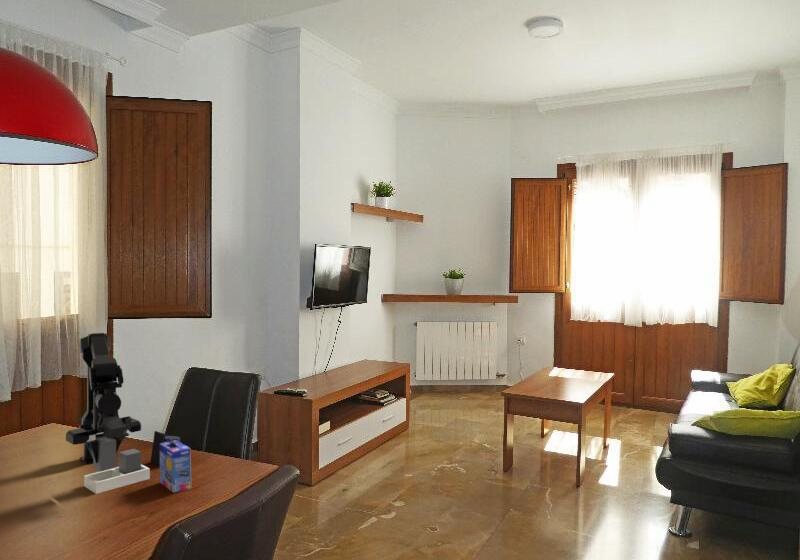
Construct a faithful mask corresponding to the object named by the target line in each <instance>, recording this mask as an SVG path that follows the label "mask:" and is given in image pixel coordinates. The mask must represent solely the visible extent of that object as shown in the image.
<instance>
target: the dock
mask: <svg viewBox="0 0 800 560" xmlns="http://www.w3.org/2000/svg"><path fill="white" fill-rule="evenodd" d="M150 470H151V468H149V467H148V466H146V465H144V464H142V463H141V470H139V471H135V472H131V473H128V474H122V473H121V472H119V466H116V468H113V469H109V470H105V471H101V472H100V471H96V472H93V473H88V474H86V475H83V486H84V487H85V488H87V489H88V490H89V491H91V492H92V493H94V494H96V495H97V494H101V493H104V492H107V491H111V490H114V489H118V488H122V487H127V486H129V485H133V484H136V483H140V482H144V481H147V480H150V479H151V471H150Z"/></svg>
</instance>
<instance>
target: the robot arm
mask: <svg viewBox="0 0 800 560" xmlns="http://www.w3.org/2000/svg"><path fill="white" fill-rule="evenodd" d="M78 345H79V346H78V348H79V354H81V358H82V360H83V361H84V362H85V364H86V377H87V378H86V385H87V386H86V389H87V390H86V394H87V395H86V396H87V397H86V400H87V401H86V403H87V405H86V407H87V408H86V411H85V412H84V414H83V415H82V417H81V424H79V427H78V428H74V429H68V431H67V432H66V434H65V442H68V443H70V444H71V445H75V446H76V445H82V444H83V456H80V457H79V460H80V461H82V462H84V463H85V464H91V463H93V460H94V462H95V463H98V451H97V444H98V442H99V441H98V440H96V439H100V438H105V437H106V438H108V439H112V438H113V439H115V440H116V455H117V453H118V451H119V448H120V446H121V443H122V442H123V440H125V438H126V437H128V436H130V433H135V432H141V431H142V423H141V421H140V420H138V419H135V418H133V417H131V415H130V416H123V417H120V416H119V410H120V409H121V406H122V400H121V398H120V396H119V394H118V393H117V388H122V387H123V384H124V374H123V369H122V368H121V365H120V364H118V361H117V359H116V358H114V357H112V356H111V355H110V350H111V348H112V347H111V337H110V336H108V335H107V333H105V332H95V333H93V332H92V333H90V334H89V333H88V335H87V336H84V337H82V338H80V339H79V343H78ZM128 431H129V432H130V433H128Z"/></svg>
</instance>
